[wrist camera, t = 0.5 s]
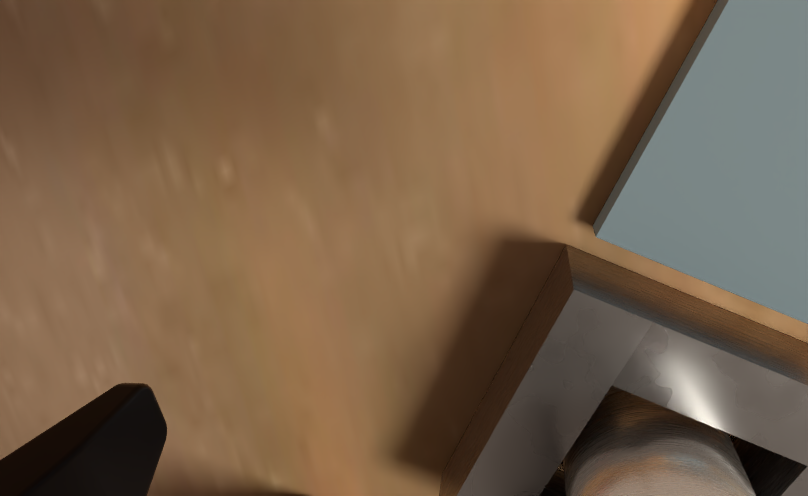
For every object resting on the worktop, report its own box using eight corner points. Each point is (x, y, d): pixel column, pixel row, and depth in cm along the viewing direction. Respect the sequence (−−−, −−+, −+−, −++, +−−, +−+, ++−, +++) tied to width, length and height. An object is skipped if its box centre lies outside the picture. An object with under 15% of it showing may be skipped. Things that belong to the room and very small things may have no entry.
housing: (696, 578, 27) (719, 658, 24) (442, 473, 27) (432, 538, 24) (880, 373, 22) (940, 440, 19) (566, 244, 22) (574, 289, 19)
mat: (832, 324, 22) (846, 339, 21) (592, 225, 22) (595, 236, 21) (1034, 77, 18) (1061, 83, 17) (741, -42, 18) (752, -43, 17)
